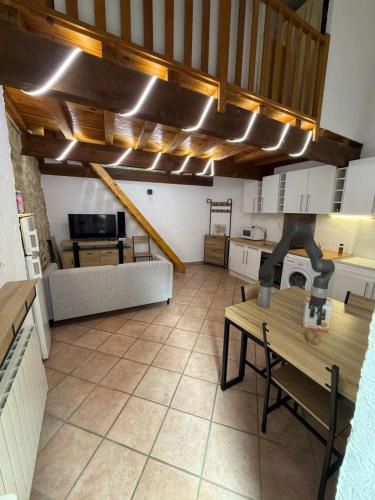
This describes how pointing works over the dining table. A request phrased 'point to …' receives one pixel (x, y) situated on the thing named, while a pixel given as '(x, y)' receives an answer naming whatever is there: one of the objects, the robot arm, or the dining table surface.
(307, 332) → the walnut block
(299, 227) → the robot arm
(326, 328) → the cracker box
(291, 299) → the dining table surface
